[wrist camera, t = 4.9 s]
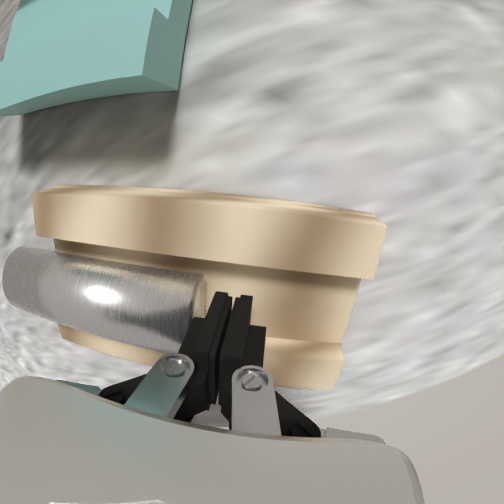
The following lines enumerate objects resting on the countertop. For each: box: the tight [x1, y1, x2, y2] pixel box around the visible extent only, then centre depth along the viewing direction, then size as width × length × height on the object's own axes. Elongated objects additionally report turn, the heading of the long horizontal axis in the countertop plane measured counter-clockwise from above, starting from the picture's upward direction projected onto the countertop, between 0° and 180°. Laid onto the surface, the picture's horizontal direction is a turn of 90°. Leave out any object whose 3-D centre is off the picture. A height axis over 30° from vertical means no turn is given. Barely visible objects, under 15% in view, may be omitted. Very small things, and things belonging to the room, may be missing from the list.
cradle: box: [0, 0, 192, 116], centre depth 8 cm, size 12×12×4 cm
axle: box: [2, 246, 206, 354], centre depth 13 cm, size 12×4×4 cm, turn 85°
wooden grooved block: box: [32, 185, 387, 390], centre depth 14 cm, size 18×10×2 cm, turn 85°
